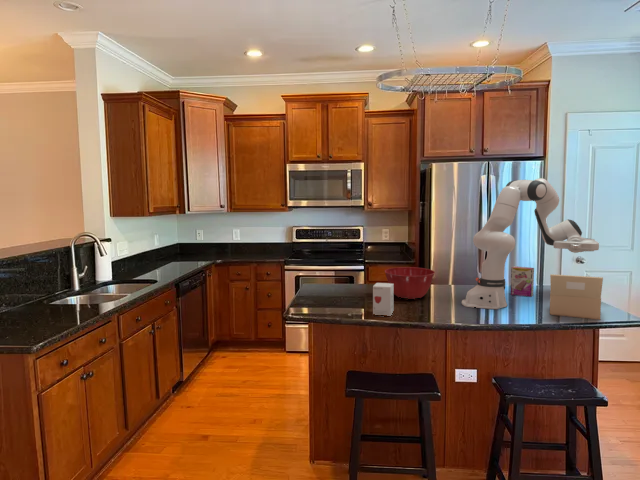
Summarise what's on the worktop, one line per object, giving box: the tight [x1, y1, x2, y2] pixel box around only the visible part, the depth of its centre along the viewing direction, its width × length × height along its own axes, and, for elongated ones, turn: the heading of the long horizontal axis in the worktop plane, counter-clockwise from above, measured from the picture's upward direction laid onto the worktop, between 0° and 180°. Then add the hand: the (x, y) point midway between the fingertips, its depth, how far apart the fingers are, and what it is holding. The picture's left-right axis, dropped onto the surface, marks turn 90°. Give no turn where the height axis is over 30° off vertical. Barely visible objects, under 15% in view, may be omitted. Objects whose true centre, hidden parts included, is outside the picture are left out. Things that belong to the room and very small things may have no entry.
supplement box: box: [372, 282, 395, 317], centre depth 203 cm, size 9×9×15 cm
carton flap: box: [549, 273, 604, 300], centre depth 185 cm, size 15×20×1 cm
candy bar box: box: [510, 265, 535, 298], centre depth 235 cm, size 11×5×16 cm, turn 50°
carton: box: [549, 292, 602, 321], centre depth 197 cm, size 16×20×10 cm
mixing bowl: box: [384, 266, 435, 300], centre depth 238 cm, size 28×28×15 cm
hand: (575, 246), depth 210 cm, fingers closed
